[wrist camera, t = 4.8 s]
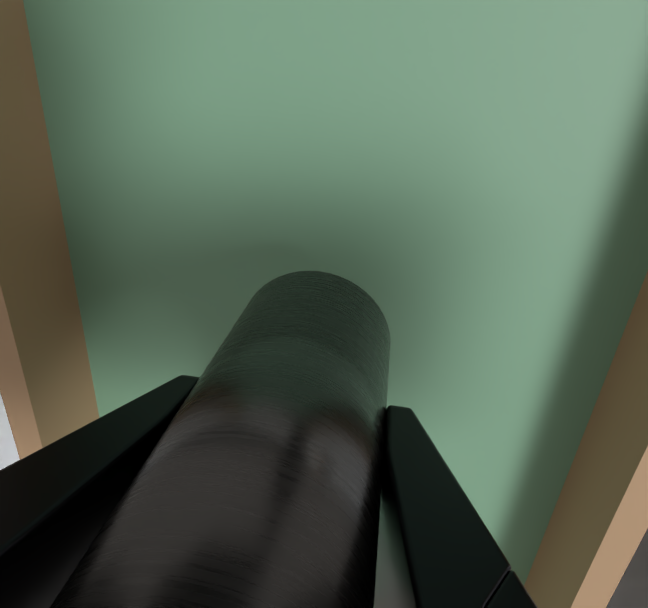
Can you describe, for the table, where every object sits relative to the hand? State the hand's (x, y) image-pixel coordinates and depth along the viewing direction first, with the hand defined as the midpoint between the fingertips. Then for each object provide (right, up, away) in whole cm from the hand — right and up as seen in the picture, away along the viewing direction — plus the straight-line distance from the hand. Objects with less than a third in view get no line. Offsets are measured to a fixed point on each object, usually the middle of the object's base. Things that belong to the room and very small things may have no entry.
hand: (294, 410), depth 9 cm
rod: (0, -4, +7) cm, 7 cm away
